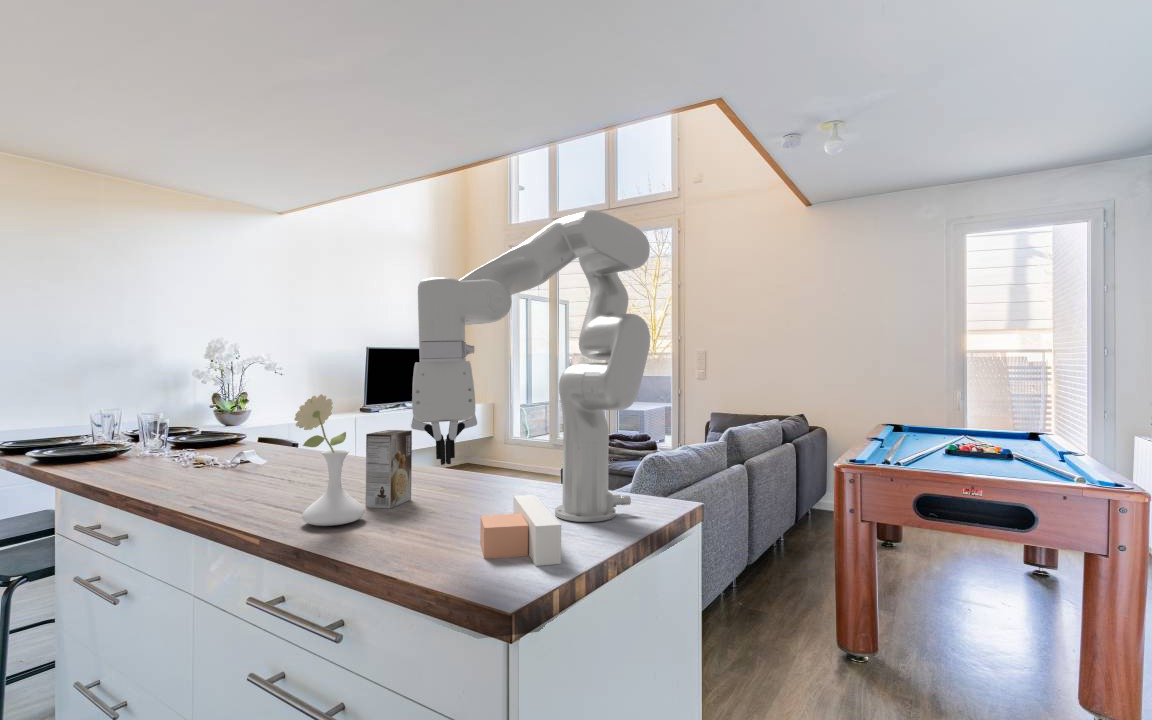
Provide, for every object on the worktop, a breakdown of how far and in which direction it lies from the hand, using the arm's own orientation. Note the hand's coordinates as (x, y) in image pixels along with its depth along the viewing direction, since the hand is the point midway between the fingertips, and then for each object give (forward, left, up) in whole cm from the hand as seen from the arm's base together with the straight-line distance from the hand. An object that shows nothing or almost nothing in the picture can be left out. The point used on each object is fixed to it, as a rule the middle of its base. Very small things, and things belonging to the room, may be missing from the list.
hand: (445, 462), depth 93 cm
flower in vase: (+21, -22, -15) cm, 33 cm away
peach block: (-9, +2, -15) cm, 17 cm away
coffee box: (+11, -37, -15) cm, 41 cm away
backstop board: (-15, 0, -14) cm, 21 cm away
